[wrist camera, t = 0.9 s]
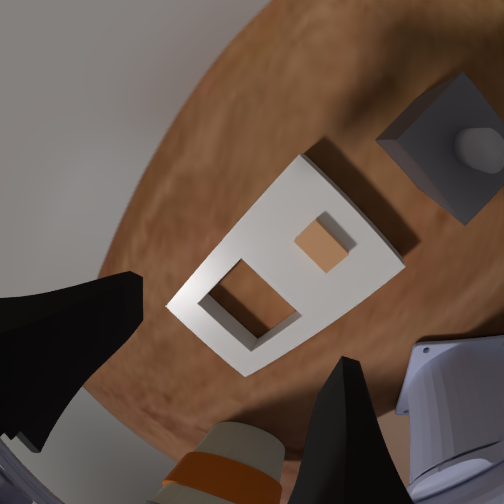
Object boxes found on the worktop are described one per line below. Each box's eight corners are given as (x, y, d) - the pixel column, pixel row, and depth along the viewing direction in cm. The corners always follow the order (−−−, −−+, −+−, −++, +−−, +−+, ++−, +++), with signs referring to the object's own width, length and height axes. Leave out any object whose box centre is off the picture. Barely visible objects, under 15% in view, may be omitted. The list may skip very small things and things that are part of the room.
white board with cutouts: (303, 153, 15) (297, 155, 13) (401, 255, 15) (407, 271, 13) (176, 296, 21) (161, 310, 20) (251, 364, 22) (242, 382, 20)
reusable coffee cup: (187, 398, 27) (112, 505, 14) (305, 426, 23) (255, 565, 10) (207, 451, 32) (158, 533, 18) (297, 473, 28) (261, 569, 15)
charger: (416, 98, 11) (481, 60, 4) (458, 147, 12) (549, 165, 4) (374, 140, 13) (407, 139, 6) (418, 188, 13) (482, 242, 6)
